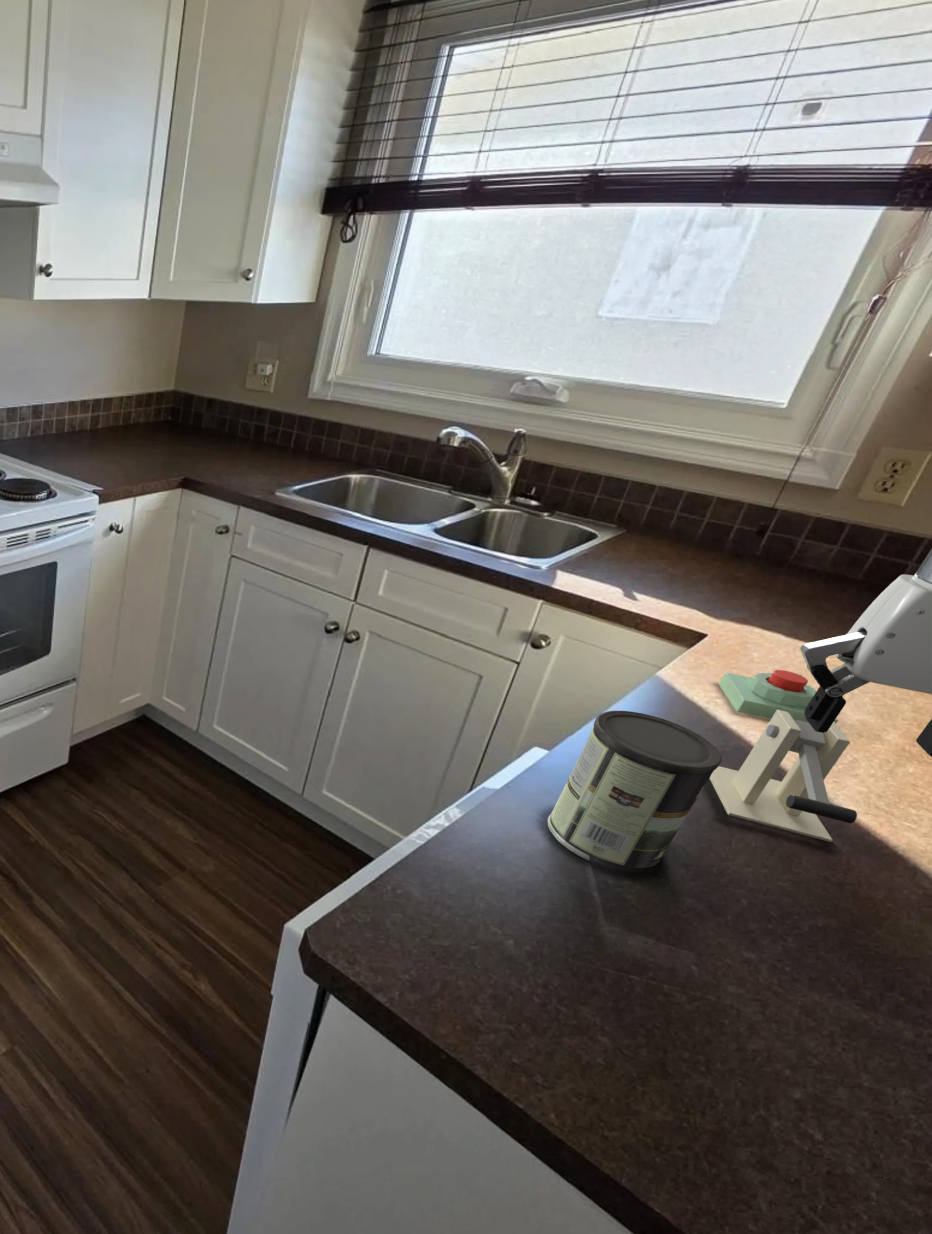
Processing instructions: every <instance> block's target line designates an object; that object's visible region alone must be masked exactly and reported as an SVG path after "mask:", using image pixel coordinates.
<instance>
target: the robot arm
mask: <svg viewBox="0 0 932 1234" xmlns="http://www.w3.org/2000/svg"><path fill="white" fill-rule="evenodd" d="M799 649H800V652H801V655H802V657H803V660H804V662H805V665H806V668H807V670H808V671H809V672H810V674H811V676H812V677H813V679H814V680H815V681H816V683H817V685H819V687H818V688H817V690H816V693H815V695H814V696H813V698H812V699H811V701H810V702H809V704H808V706H807V707H806V709H805V712H804V715H805V716H806V720H807V721H808V722H809V724H810V725H811V726H812V728H813V729H814V730H815V731H817V732H821V733H824V732H827V731H828V729H829V728H830V727H831V725H832V724H833V722H834V721H835V719H838V716H839V715H840V713H841V711H843V709H844V707H845V706H846V705H847V701H846V699H845V698H844V695H846V694H848V693H850V692H852V691H853V692H854V690H856V689H859V688H861V687H864V686H865V685H867V684H869V683H873V684H877V685H883V686H887V687H892V688H897V689H902V690H907V691H913V692H918V693H922V694H928V695H932V548H931V549H930V550H929V552H928V554H927V555H926V557H925V558H924V560H923V561H922V563H921V564H920V566H919V567H918V569H917V571H916V572H915V573H914V575H912V574H900V575H899V576H898V577H897V578H896V579H894V580H893V581H892V582H891V583H890V584H889V585H888V586H887V587H885V589H884V590H883V591H882V592H880V594H879V595H878V596H877V597H876V598H875V599H874V600H873V601H872V602H871V604H870V605H868V607H867V608H866V609H865V610H864V611H863V612H862V614H861V615H860V616H859V618H858V619H857V620H856V621H855V622H854V624H853V625H852V627H851V628H850V629H849V631H848V632H847V633H846V634H845V635H839V636H835V637H831V638H826V639H822V640H817V641H812V642H808V643H804V644H802V645H801V646H800V647H799ZM831 656H835V658H837V659H838V660H839V661H841V662H842V664H841V665H838V666H837V667H835V668H832V669H831V670H830V668H829V667H828V664H827V658H828V657H831ZM915 742H916V743H917V744H918V746H920V748H922V750H923V751H924V752H925V753H926V754H927V755H928V756H930V757H931V758H932V718H931V719H930V720H929V721H928V722H927V724H926V726H925V727H924V728H923V729H922V731H921V732H920V734H919V735H918V736H917V737H916V739H915Z"/></svg>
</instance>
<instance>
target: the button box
mask: <svg viewBox="0 0 932 1234" xmlns="http://www.w3.org/2000/svg"><path fill="white" fill-rule="evenodd" d="M772 673H773V672H757V673H756V674H755V675H754V676H753V677H750V676H745V675H741V674H736V673H730V672H725V673H724V674H723V676H722V678H721V680H720V681H719V683H718V685H719V687H720V689H721V690H722V692H723V693H724V695H725V696H726V697H727V700H728V702H729V703H730V704H731V706H732V707H733V709H734V710H735V712H736V713H741V714H747V715H750V716H755V717H760V718H764V719H768V720H771V719H772V717H773V715H774V714H775V712H776V711H777V710H781V711H786V712H788V713H789V714H790V716H791V717H792V718H793V720H794V721H795V720H798V721H803V722H807V723H809V722H808V721H807V720H806V716H805V715H804V712H805V709H806V707H807V706H808V704H809V702H810V701H811V699H812V698H813V696H814V695H815V693H816V692H817V690H816V689H815V688H814V687H812V686H811V685H808V683H807V684H806V686H805V687H804V689H803V691H802V692H792V691H787V690H784V689H781V688H778V687H775V686H773V685H772V684H770V683H768V680H769V678H770V677H771V675H772ZM834 722H835V724H836V725H837V723H838V722H839V720H838V718H836V719H835V721H834Z"/></svg>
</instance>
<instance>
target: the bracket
mask: <svg viewBox="0 0 932 1234" xmlns="http://www.w3.org/2000/svg"><path fill="white" fill-rule="evenodd" d="M801 731H802V730H801V729H800V728H799V726H798V725H797V724H796V722H795V721H794V720H793V718H792V717H791V716H790V714H789V713H788V712H786V711H781V710H777V711H776V712H775V714H774V715H773V717H772V719H769V722H768V724H767V725H766V726H765V728H764V730H763V731H762V733H761V735H760V736H759V738H758V739H757V741H756V742H755V744H754V745H753V747H752V749H751V751H750V752H749V754H748V755H747V757H746V759H745V760H744V761H743V763H742V765H741V767H740V768H739V769H738V770H735V769H732V768H728V767H723V766H720V765H719V766H718V767H717V769H715V770H714V771H713V773H712V774H711V776H710V778H709V780H710V783H711V784H712V786H713V788H714V790H715V792H716V794H717V797H718V798H719V800H720V802H721V804H722V805H723V808H724V810H725V812H726V814H727V815H728V816H731V817H735V818H738V819H741V820H746V821H749V822H753V823H757V824H759V825H760V824H761V825H764V826H768V827H771V828H776V829H779V830H783V831H787V832H791V833H795V834H798V835H802V836H806V837H809V838H813V839H818V840H820V841H824V842H828V843H832V842H833V840H834V839H833V837H831V835H830V834H829V832H828V831H827V829H826V827H825V825H824V824H823V823H822V821H821V819H820V818H819V816H818V815H816V814H812V813H808V812H804V811H800V810H796V809H792V808H788V807H787V806H786V800H787V798H788V796H790V795H796V796H800V797H804V798H808V799H809V797H808V793H807V789H806V784H805V780H804V775H803V771H802V767H801V762H800V758H799V755H798V756H797V758H796V759H795V761H793V763H792V765H791V767H790V768H789V770H787V773H786V774H785V775H784V777H783V779H782V781H781V780H778V779H777V780H776V779H772V777H773V776H774V775H775V773H776V772H777V769H778V768H779V766H780V765H781V763H782V762H783V761H784V759H785V757H786V756H787V755H788V753H789V752H790V751H789V750H790V748H791V747H792V745H793V744H794V742H795V740H796V739H797V737H798V736H799V734H800V733H801ZM823 735H824V739H825V743H826V744H825V745H824V746H823V747H822V748H821V749H820V750H818V751H817V756H818V760H819V764H820V768H821V772H822V776H823V780H825V779H826V778H827V776H828V775H829V773H830V772H831V771H832V769H833V767H834V766H835V765H836V763H837V762H838V760H839V759H840V757H841V756H842V755H843V753H844V752H845V750H846V749H847V747H848V746H849V744H851V740H849V738H848V737H847V736H846V734H845V733H844V732H843V731H842V730H841V728H840V727H839V725H838V724H837V723H836V724H835V722H833V724H832V725H831V727H830V728H829V729H828V731H827V732H824V733H823Z"/></svg>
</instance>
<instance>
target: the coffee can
mask: <svg viewBox="0 0 932 1234" xmlns="http://www.w3.org/2000/svg"><path fill="white" fill-rule="evenodd" d="M722 760H723V757H722V754H721V752H720V751H719V749H717V747H716V746H715V745H714V744H712V742H710V741H709V740H707V739H706V738H704V737H703V736H701V734H698V733H697V732H694V731H693V730H691V729H689V728H687V727H685V726H682V725H680V724H678V723H675V722H672V721H671V720H667V719H666V718H665V719H664V718H661V717H658V716H654V715H651V714H647V713H642V712H637V711H630V710H607V711H603V712H601V713H599V714H598V715H597V716H596V717H595V719H594V721H593V727H592V729H591V731H590V733H589V736H588V738H587V739H586V741H585V744H584V746H583V748H582V750H581V752H580V754H579V756H578V757H577V760H576V761H575V764H574V766H573V768H572V770H571V773H570V774H569V777H568V779H567V780H566V783H565V785H564V787H563V788H562V791H561V793H560V795H559V797H558V799H557V801H556V803H555V805H554V807H553V809H552V810H551V813H550V814H549V816H548V817H547V827H548V830H549V832H551V834H552V836H553V837H554V838H555V839H556V840H557V841H558V842H559V843H560V844H561V845H562V846H563V847H565V848H566V849H567V850H568V851H570V852H572V853H573V854H575V855H576V856H577V857H580V858H581V859H584V860H586V861H588V862H591V858H590V856H591V857H593V858H597V859H599V860H601V861H604V862H606V863H610V864H612V865H615V866H619V867H620V866H621V867H624V868H625V867H627V868H632V869H633V868H634V869H645V868H651V867H654V866H656V865H657V864H658V863H660V862H661V860H662V858H663V857H664V855H665V853H666V852H667V850H668V849H669V846H670V845H671V843H672V841H673V840H674V838H675V836H676V835H677V833H678V831H679V830H680V827H681V826H682V824H683V823H684V821H685V819H686V818H687V816H688V814H689V812H690V811H691V809H692V808H693V806H694V804H695V803H696V801H697V800H698V798H699V796H700V795H701V793H702V791H703V789H704V788H705V786H706V784H707V783H708V781H709V780H710V776H711V774H712V773H713V771H714V770H715V769H717V767H718V766H720V765H721V764H722V762H723V761H722Z"/></svg>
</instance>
